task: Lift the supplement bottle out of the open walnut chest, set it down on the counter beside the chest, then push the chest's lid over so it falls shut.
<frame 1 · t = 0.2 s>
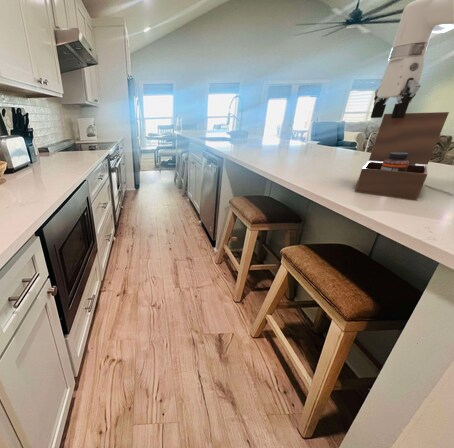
hand: (386, 117, 77), 22 cm above the countertop, tool pointing down, fingers open, 9 cm apart
lid: (405, 138, 77), point 15 cm above the countertop, hinge at 100.0°
supplement bottle: (386, 189, 78), resting on chest
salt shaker: (403, 180, 88), on the countertop
chest: (385, 190, 78), on the countertop
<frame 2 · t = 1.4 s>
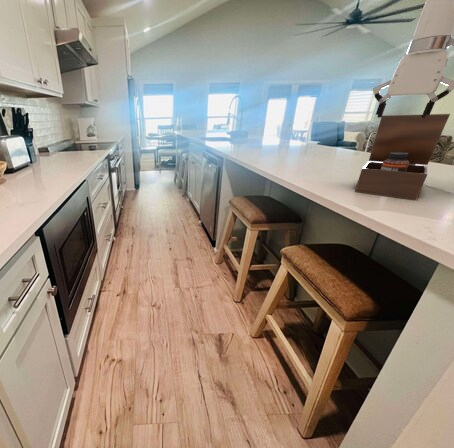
hand: (400, 117, 72), 22 cm above the countertop, tool pointing down
lid: (404, 140, 75), point 15 cm above the countertop, hinge at 74.2°, touching gripper
everything else where it was.
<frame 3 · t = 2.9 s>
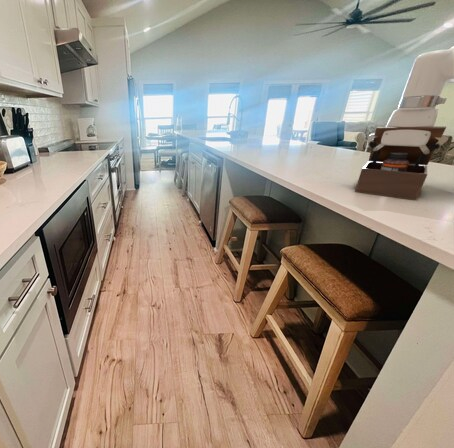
hand: (394, 165, 75), 8 cm above the countertop, tool pointing down, fingers open, 9 cm apart
lid: (402, 146, 74), point 14 cm above the countertop, hinge at 49.3°
everything else where it was.
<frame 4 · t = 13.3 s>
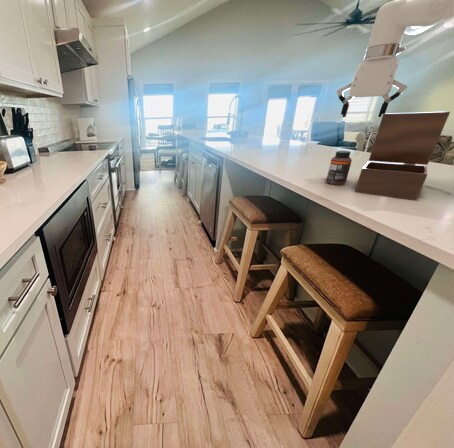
hand: (361, 116, 80), 22 cm above the countertop, tool pointing down, fingers open, 9 cm apart
lid: (405, 138, 76), point 15 cm above the countertop, hinge at 85.4°, touching gripper
supplement bottle: (334, 183, 88), on the countertop
everything else where it was.
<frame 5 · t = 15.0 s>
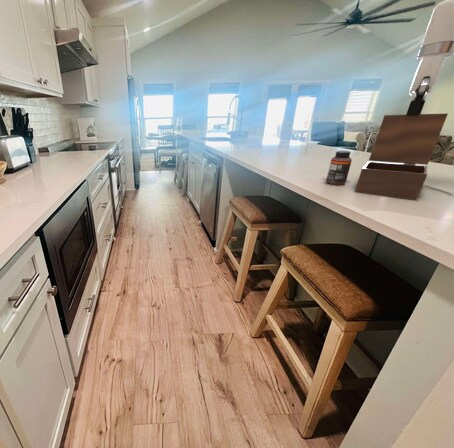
hand: (413, 114, 79), 22 cm above the countertop, tool pointing down, fingers open, 9 cm apart
lid: (405, 138, 78), point 15 cm above the countertop, hinge at 107.0°, touching gripper
everything else where it was.
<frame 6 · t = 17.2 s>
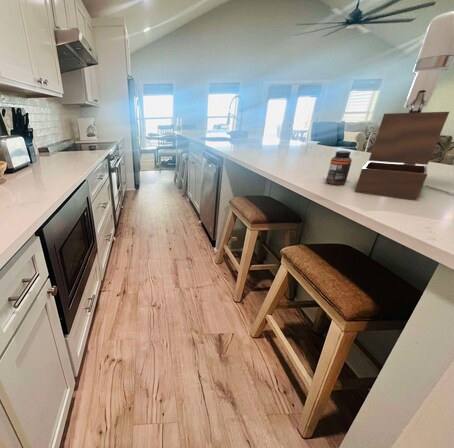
hand: (407, 131, 79), 17 cm above the countertop, tool pointing down, fingers closed
lid: (405, 138, 77), point 15 cm above the countertop, hinge at 96.1°, touching gripper
everything else where it was.
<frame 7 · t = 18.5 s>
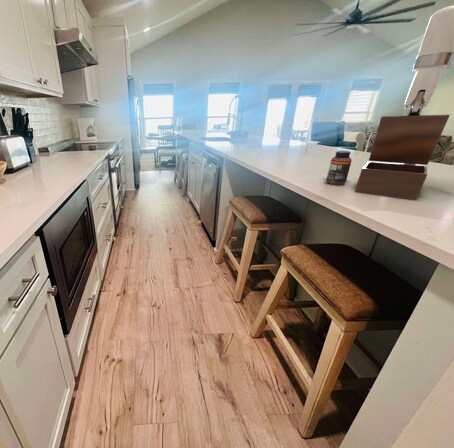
hand: (406, 133, 75), 17 cm above the countertop, tool pointing down, fingers closed
lid: (404, 140, 75), point 15 cm above the countertop, hinge at 71.7°
everything else where it was.
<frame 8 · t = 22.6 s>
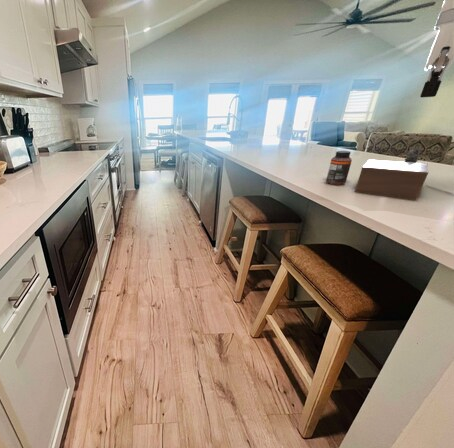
hand: (427, 96, 71), 27 cm above the countertop, tool pointing down, fingers closed
lid: (394, 166, 75), point 8 cm above the countertop, hinge at -0.2°
everything else where it was.
at the end: supplement bottle inside the target area (0.1 cm from its centre), on the countertop; supplement bottle tilted 0°; lid at +0° (first picture: +100°) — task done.
